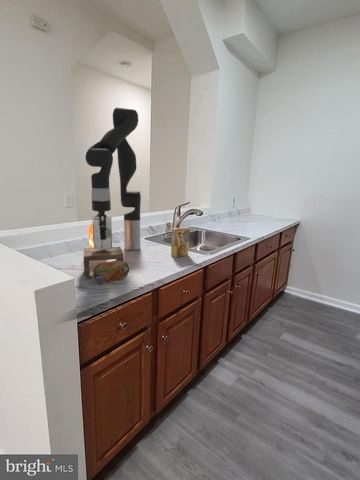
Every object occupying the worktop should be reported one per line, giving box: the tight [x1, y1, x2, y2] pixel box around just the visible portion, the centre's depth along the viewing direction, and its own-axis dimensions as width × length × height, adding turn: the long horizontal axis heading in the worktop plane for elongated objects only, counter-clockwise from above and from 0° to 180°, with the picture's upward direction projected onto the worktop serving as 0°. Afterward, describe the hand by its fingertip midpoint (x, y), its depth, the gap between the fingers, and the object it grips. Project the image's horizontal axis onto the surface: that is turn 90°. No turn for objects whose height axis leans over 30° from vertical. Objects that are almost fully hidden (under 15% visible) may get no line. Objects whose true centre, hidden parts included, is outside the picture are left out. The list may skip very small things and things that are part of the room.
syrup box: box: [92, 214, 113, 251], centre depth 118 cm, size 6×6×14 cm
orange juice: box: [87, 221, 94, 248], centre depth 143 cm, size 8×9×20 cm
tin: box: [92, 259, 130, 285], centre depth 113 cm, size 15×3×8 cm, turn 126°
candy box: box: [170, 226, 190, 258], centre depth 149 cm, size 9×4×15 cm, turn 119°
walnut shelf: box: [83, 246, 124, 280], centre depth 121 cm, size 12×16×10 cm
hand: (102, 237), depth 118 cm, fingers closed on syrup box, 7 cm apart
